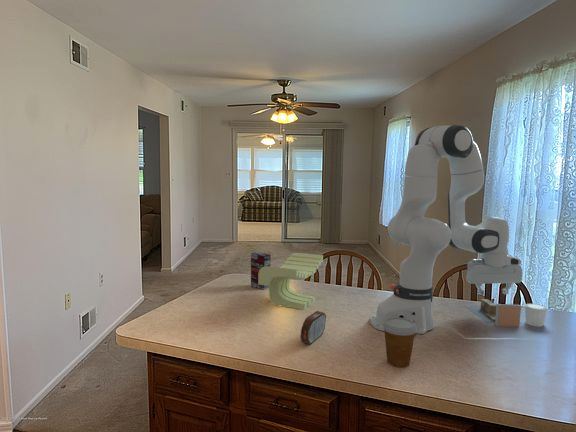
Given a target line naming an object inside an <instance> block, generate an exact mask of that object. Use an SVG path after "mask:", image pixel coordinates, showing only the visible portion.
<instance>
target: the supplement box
mask: <svg viewBox="0 0 576 432" xmlns="http://www.w3.org/2000/svg"><path fill="white" fill-rule="evenodd" d="M271 256H272V255H271V254H269V253H265V252H259V251H256V252H252V253H250V287H251V286H253V287H252V288H256V287H257V288H256V289H259V288H261V289H260V290H263V289H265V290H268V289H269V287H268V286H267V285H259V284H258V273H259V270H260V269H261V268H262V267H264V266H269V267H271V259H272V257H271ZM267 288H268V289H267Z"/></svg>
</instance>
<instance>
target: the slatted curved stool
mask: <svg viewBox="0 0 576 432" xmlns="http://www.w3.org/2000/svg"><path fill="white" fill-rule="evenodd" d="M323 261H324V255H323V254H315V253H305V252H304V253H303V252H293V253H291V254H290V255H288V257H287V258H286V260H285V261H284V262H283V264H282V265H281V266H279V267H276V266H270V267H269V266H264V267H262V268H261V269H260V270H259V273H258V284H259V285H267V286H268V287H269V288H268V297H269V300H270V302H271V303H272V305H274V306H278V305H281V306H280V307H284V306H286V307H285V308H291V307H293V308H292V309H297V308H300V309H299V310H306V309H307V308H308V307H310V306H311V305H312V304H313V303H314V302H315V301H316V298H315V296H313V295H312V296H311V295H306V294H301V293H298V292H295V291H294V290H292V289H291V287H290V281H291V280H292V279H299V280H305V279H307V278H309V277H311V276H312V275H314V274H315V273H317V270H319V266H321V265H322V263H323ZM312 302H313V303H312ZM311 303H312V304H311ZM307 306H308V307H307ZM306 307H307V308H306Z"/></svg>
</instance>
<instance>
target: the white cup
mask: <svg viewBox="0 0 576 432" xmlns="http://www.w3.org/2000/svg"><path fill="white" fill-rule="evenodd" d="M524 306H525V307H524V308H525V309H524V311H525V312H524V313H525V316H524V317H525V324H527V325H529V326H531V327H532V326H533V327H543V326H544V325H545V319H546V316H547V309H548V307H547V306H545V305H542V304H538V303H525V304H524Z"/></svg>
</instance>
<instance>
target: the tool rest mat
mask: <svg viewBox="0 0 576 432" xmlns="http://www.w3.org/2000/svg"><path fill="white" fill-rule="evenodd" d="M464 307H465V308H467V309H468V310H470V311H471V312H472V313H473V314H475V316H477V317H478V318H480V319H481V320H482V321H484V322H485V323H487V324H495V321H492V320H491V319H489V318H488V317H487V316H486V314H487V313H486V312H484V311H483V310H481V305H464ZM520 324H521V322H520Z"/></svg>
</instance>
